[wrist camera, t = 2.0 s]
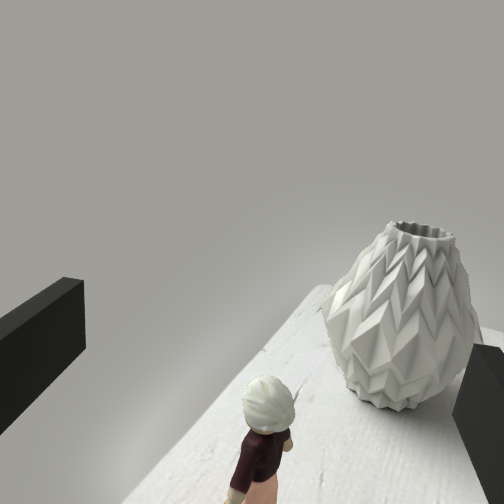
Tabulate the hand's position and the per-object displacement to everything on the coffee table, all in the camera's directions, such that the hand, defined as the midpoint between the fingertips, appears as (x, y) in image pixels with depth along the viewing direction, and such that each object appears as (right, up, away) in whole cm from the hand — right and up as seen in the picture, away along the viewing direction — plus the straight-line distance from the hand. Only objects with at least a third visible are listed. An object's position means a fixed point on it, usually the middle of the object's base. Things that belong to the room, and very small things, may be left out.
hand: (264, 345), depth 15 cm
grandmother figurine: (-1, -17, +16) cm, 24 cm away
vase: (+14, -12, +34) cm, 39 cm away
